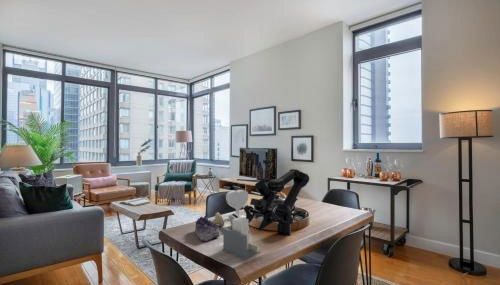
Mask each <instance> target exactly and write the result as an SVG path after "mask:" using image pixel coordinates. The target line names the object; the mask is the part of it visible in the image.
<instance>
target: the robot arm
mask: <svg viewBox="0 0 500 285" xmlns="http://www.w3.org/2000/svg"><path fill="white" fill-rule="evenodd" d="M292 180H293V185H292V186H291V189H289V192H288V194H287V196H286V198H285V199H284V201H283V203H282V204H281V203H278V204H277V206H276V208H275V209H274V210H270V209H272V208H273V206H272V205H273V202H274V200H279V198H278V194H277V193H281V192H282V191H283V190H284V189H285V185H287V184H288V183H289V182H291V181H292ZM309 182H310V176H309V174H308V173H305V172H303V171H301V170H299V169H296V168H295V169H294V168H292V169H289V171H287V172H285V174H283V175H282V176H280V177H278V178H273V179H271V180H269V181H267V180H266V179H265V178H262V179H261V180H258V181H257V182H256V183H255V184H254V188H255V190H256V191H257V192H258V193H259V195H260V196H261V197H262V198H260V199H258V198H251V199H250V202H249V205H248V204H247V205H246V204H245V205H244V206H243V210H244V212H245V216H246V217H245V219H249V224H250V223H251V222H252V221H253V219H254V218H255V216H256V215H259V216H263V218H262V220H261V222H260V225H259V227H258V231H259V232H261V231H263V229H265V228H266V227H268V226H270V225H271V224H274V223H277V222H278V223H277V227H276V228H277V235H282V236H290V235H291V233H292V231H291V225H292V224H293V223H294V219H295V218H294V217H293V216H292V207H293V205H294V204H295V201H296V199H297V198H298V195H299V194H300V192H301V189H302V188H304V187H305V186H307V184H308V183H309Z"/></svg>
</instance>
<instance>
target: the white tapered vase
mask: <svg viewBox="0 0 500 285" xmlns="http://www.w3.org/2000/svg"><path fill="white" fill-rule="evenodd" d="M249 224H250V223H249V219H246V217H244V218H242V217H239V218H235V219H232V226H231V227H232V230H233V231H236V232H239V233H242V234H245V235H247V250H249V242H250V240H249V237H250V236H249V234H250V233H249V231H250V229H249V228H250V227H249Z"/></svg>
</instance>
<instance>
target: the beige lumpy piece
mask: <svg viewBox="0 0 500 285" xmlns="http://www.w3.org/2000/svg"><path fill="white" fill-rule="evenodd" d="M210 221H211V222H212V223H213V224H217V225H218V226H220V228H222V227H224V226H225V220H224V218H223V217H222V215H221V213H220V212H219V211H218V212H216V213H215V216H214V219H213V220H210Z"/></svg>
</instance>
